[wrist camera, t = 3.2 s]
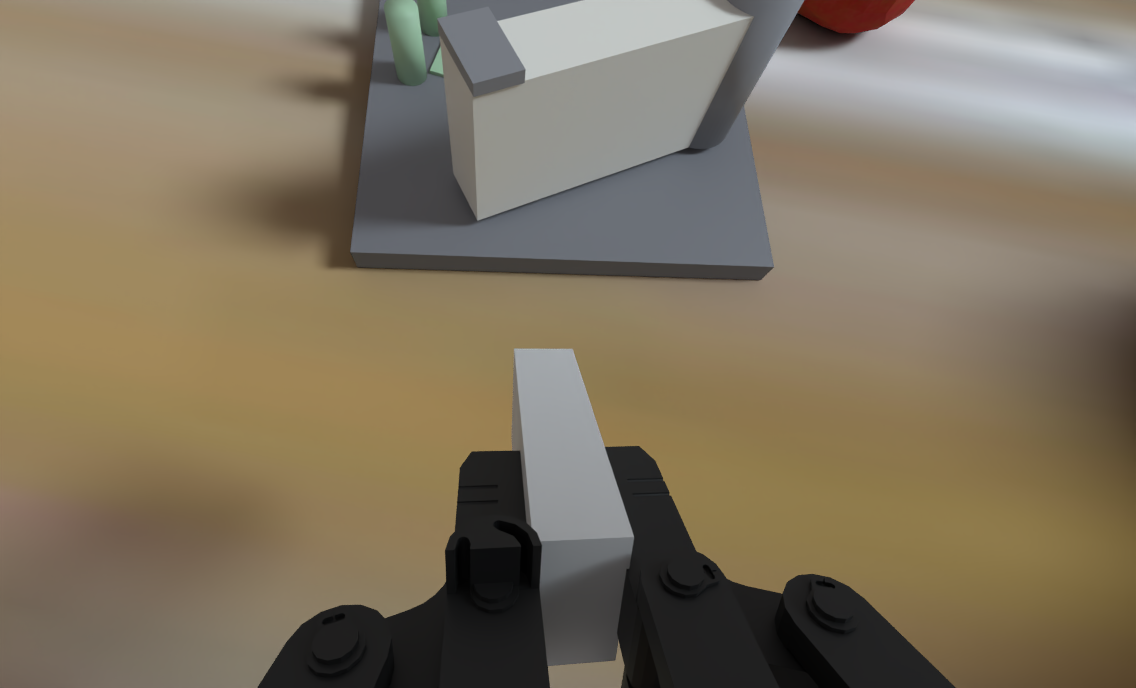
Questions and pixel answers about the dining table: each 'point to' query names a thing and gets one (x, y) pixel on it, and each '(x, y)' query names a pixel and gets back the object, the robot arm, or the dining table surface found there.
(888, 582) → the dining table surface
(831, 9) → the apple
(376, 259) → the dial plate
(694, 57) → the white slab
